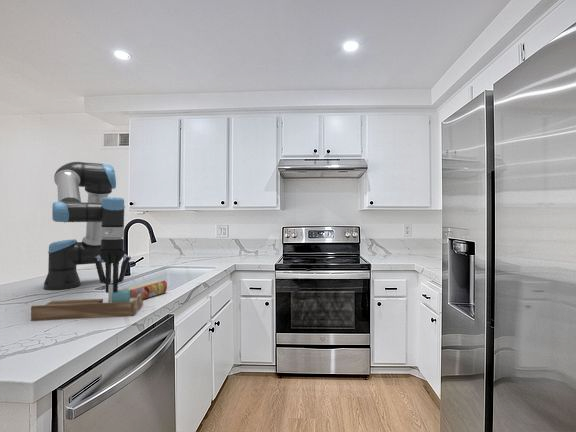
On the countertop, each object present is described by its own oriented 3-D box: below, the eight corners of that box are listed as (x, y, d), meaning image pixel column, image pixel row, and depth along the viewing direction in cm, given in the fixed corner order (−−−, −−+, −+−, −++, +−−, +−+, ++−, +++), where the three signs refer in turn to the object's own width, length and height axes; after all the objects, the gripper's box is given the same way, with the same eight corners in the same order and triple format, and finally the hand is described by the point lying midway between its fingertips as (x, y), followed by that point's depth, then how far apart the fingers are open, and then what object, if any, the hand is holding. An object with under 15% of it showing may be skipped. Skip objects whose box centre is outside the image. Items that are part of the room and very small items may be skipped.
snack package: (130, 305, 133) (130, 288, 133) (118, 303, 136) (118, 287, 136) (167, 293, 153) (167, 279, 153) (157, 292, 156) (157, 278, 156)
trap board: (52, 308, 127) (52, 295, 127) (142, 304, 134) (142, 292, 134) (30, 320, 112) (31, 306, 112) (133, 315, 119) (133, 302, 119)
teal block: (115, 303, 124) (116, 290, 124) (130, 302, 126) (130, 289, 126) (111, 306, 120) (112, 293, 120) (126, 306, 121) (126, 292, 121)
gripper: (89, 239, 116) (88, 304, 116) (128, 239, 119) (127, 303, 119) (97, 237, 124) (96, 299, 124) (133, 237, 126) (132, 298, 126)
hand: (111, 301), depth 121 cm, fingers closed
